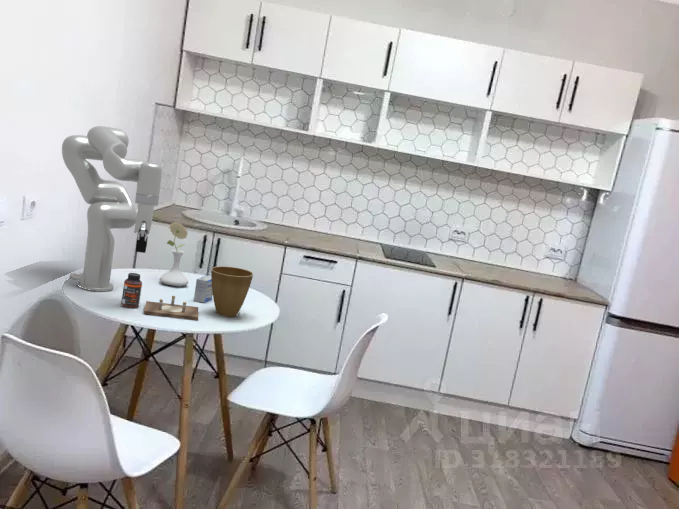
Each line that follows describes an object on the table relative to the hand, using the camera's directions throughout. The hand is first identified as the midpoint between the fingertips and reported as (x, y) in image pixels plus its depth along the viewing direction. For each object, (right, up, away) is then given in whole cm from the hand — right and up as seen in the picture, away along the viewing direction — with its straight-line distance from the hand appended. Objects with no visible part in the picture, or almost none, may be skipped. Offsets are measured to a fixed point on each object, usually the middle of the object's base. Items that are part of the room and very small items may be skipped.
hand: (141, 249), depth 234 cm
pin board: (+10, -22, +3) cm, 24 cm away
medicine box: (+16, -19, +27) cm, 37 cm away
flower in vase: (0, -14, +43) cm, 45 cm away
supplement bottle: (-4, -20, +2) cm, 20 cm away
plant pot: (+27, -23, +13) cm, 38 cm away
